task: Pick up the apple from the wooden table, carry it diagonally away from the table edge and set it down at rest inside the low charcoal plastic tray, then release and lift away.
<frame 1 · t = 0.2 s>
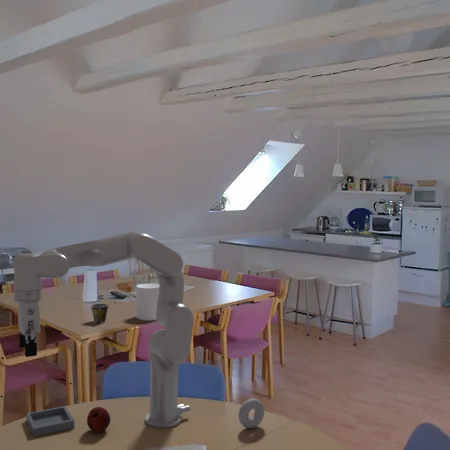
hand: (28, 351, 153), 31 cm above the table, tool pointing down, fingers open, 9 cm apart
apple: (98, 431, 169), on the table
canister: (148, 317, 321), on the table
tray: (50, 424, 173), on the table
ceramic cup: (99, 322, 307), on the table
donut: (251, 428, 173), on the table
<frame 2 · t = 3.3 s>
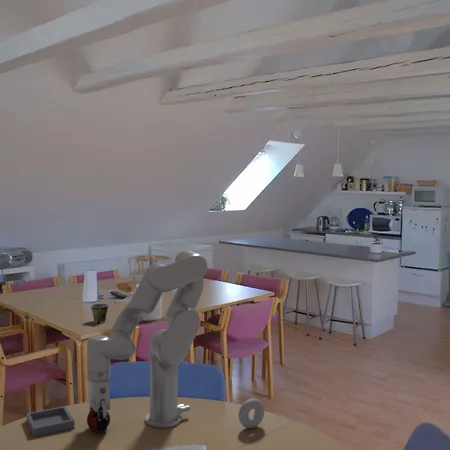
hand: (97, 425, 169), 2 cm above the table, tool pointing down, fingers closed on apple, 7 cm apart
apple: (98, 430, 169), on the table, touching gripper
everything else where it was.
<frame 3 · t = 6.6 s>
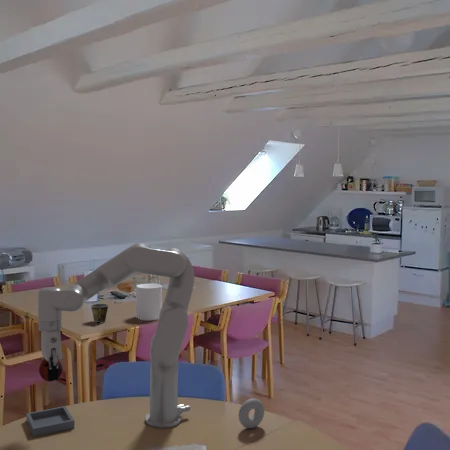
hand: (50, 375, 172), 17 cm above the table, tool pointing down, fingers closed on apple, 7 cm apart
apple: (50, 380, 172), point 15 cm above the table, touching gripper
everything else where it was.
when the fingers open (4 cm above the table, at t = 9.6 s): apple drops 1 cm, resting on tray.
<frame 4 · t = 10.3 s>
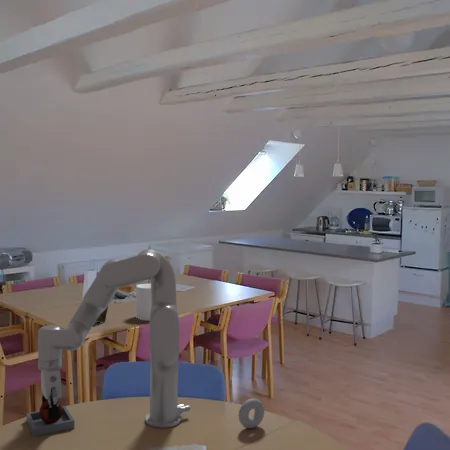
hand: (50, 412, 172), 4 cm above the table, tool pointing down, fingers open, 9 cm apart
apple: (51, 422, 173), resting on tray
everything else where it was.
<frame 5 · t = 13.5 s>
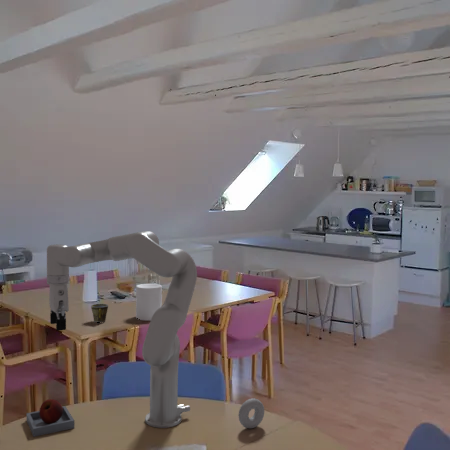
hand: (58, 326, 183), 30 cm above the table, tool pointing down, fingers open, 9 cm apart
nothing on the table moved.
at the end: apple inside the target area on the tray (0.3 cm from its centre), point 0.4 cm above the tray's base; the gripper is holding nothing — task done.
